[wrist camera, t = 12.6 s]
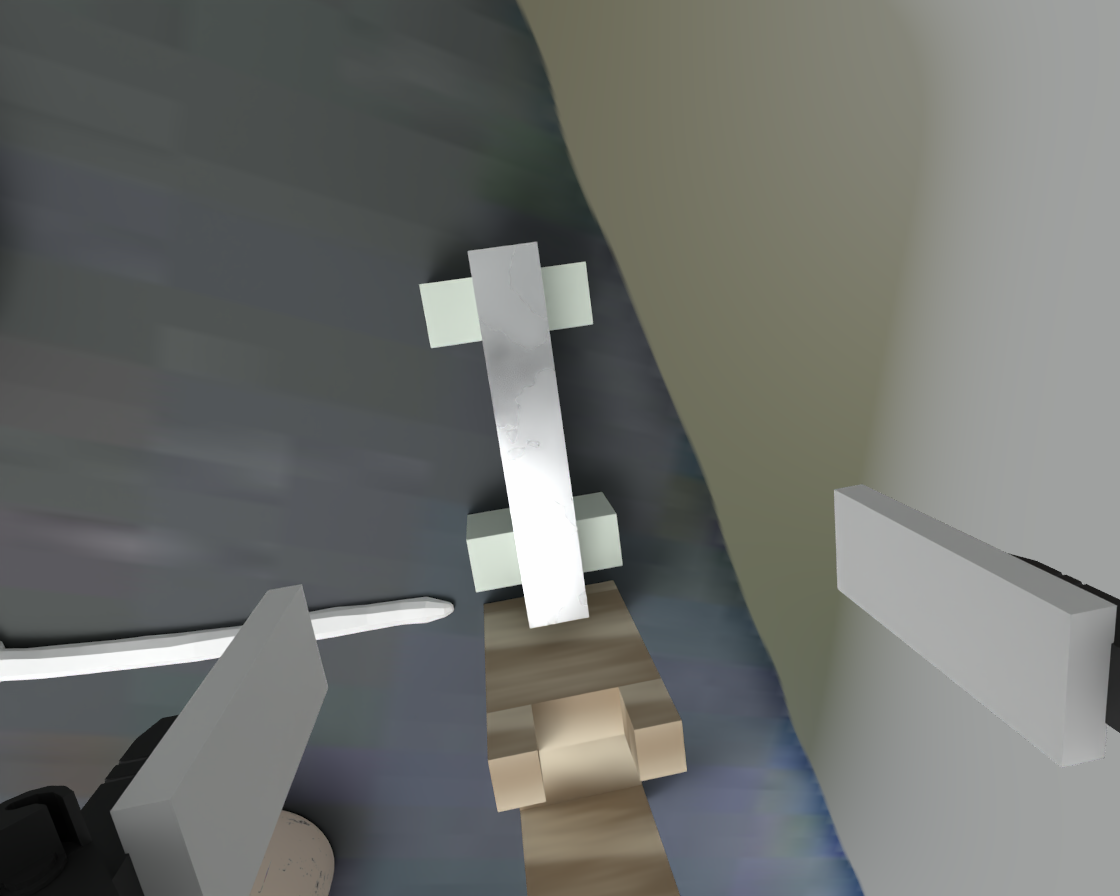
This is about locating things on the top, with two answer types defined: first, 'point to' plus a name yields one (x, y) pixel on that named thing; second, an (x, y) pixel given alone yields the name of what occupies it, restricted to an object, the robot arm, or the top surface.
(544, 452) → the rail
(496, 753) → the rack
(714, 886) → the top surface
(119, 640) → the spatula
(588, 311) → the rest
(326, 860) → the teacup with lid
